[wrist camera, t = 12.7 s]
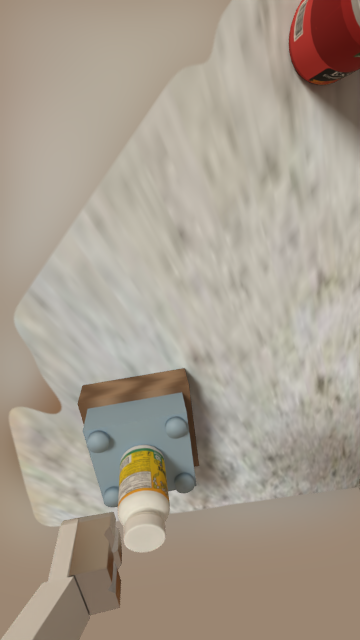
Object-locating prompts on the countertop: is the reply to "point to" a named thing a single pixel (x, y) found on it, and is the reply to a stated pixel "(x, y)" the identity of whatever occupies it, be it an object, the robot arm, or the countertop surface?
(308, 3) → the canned food
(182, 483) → the top brick
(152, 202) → the countertop surface
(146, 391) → the base brick
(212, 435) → the countertop surface
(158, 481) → the supplement bottle
